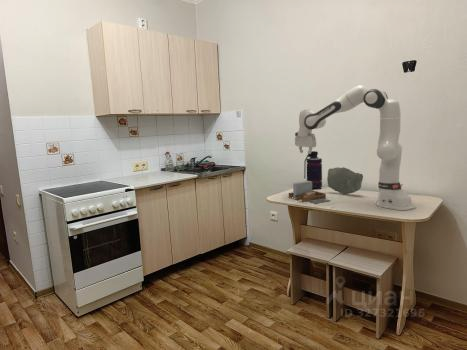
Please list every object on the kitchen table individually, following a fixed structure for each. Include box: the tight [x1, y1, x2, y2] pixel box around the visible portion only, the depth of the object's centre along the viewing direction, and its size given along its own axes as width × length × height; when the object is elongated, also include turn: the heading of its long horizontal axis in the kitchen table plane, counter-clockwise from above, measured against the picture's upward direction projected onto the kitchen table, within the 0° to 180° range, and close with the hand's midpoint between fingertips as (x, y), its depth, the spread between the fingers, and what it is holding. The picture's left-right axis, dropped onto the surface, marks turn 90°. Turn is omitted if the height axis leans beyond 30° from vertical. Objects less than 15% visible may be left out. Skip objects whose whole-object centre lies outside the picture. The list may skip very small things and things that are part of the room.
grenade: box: [303, 150, 323, 190], centre depth 264 cm, size 14×12×30 cm
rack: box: [288, 189, 327, 203], centre depth 232 cm, size 17×20×4 cm
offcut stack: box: [302, 192, 315, 198], centre depth 228 cm, size 4×10×4 cm, turn 115°
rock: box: [326, 166, 364, 195], centre depth 235 cm, size 27×6×20 cm, turn 45°
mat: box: [308, 198, 331, 205], centre depth 220 cm, size 7×13×1 cm, turn 115°
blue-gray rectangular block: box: [292, 180, 313, 199], centre depth 234 cm, size 4×14×11 cm, turn 115°
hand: (305, 153), depth 232 cm, fingers open, 8 cm apart
